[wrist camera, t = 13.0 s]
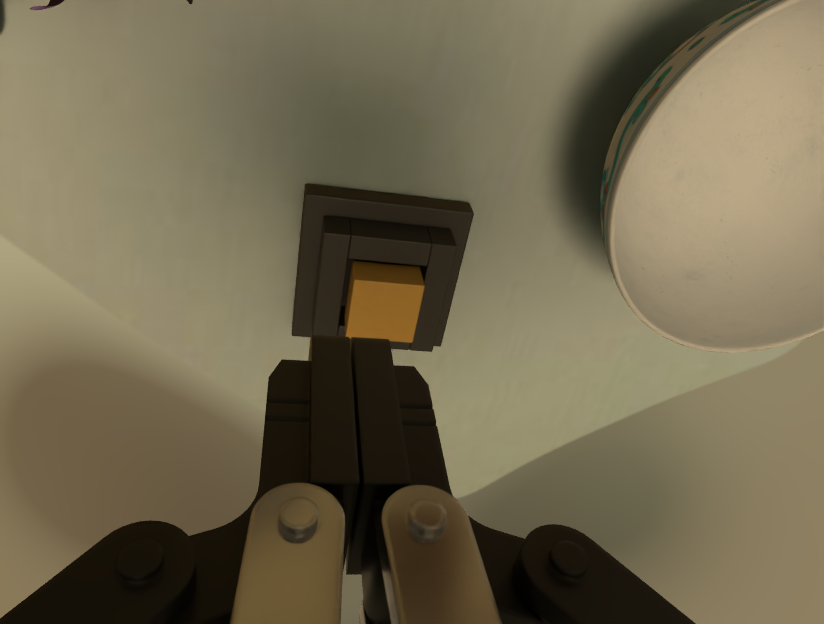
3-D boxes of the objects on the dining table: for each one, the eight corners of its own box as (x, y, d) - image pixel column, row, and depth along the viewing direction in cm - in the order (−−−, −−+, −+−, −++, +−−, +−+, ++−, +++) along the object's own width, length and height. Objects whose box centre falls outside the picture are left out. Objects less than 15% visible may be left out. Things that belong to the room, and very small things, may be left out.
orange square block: (352, 260, 29) (354, 279, 28) (420, 266, 30) (425, 286, 29) (344, 317, 31) (345, 338, 30) (408, 322, 32) (412, 343, 30)
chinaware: (864, -110, 26) (1042, -106, 19) (853, 204, 34) (975, 278, 28) (513, 41, 27) (572, 90, 21) (585, 305, 36) (642, 397, 29)
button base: (305, 183, 30) (304, 210, 27) (469, 202, 31) (482, 230, 29) (292, 323, 34) (290, 357, 32) (437, 334, 36) (446, 367, 33)
